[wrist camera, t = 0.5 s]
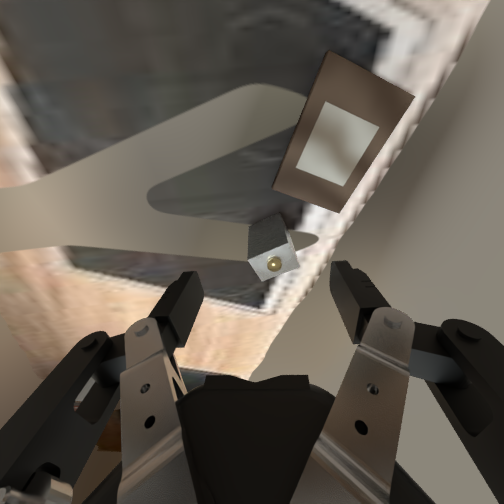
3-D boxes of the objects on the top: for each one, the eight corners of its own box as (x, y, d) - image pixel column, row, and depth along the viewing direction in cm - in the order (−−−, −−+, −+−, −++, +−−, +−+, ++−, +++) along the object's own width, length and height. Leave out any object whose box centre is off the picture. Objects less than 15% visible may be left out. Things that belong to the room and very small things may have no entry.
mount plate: (336, 210, 33) (339, 213, 32) (271, 186, 31) (272, 189, 30) (408, 97, 24) (415, 96, 23) (325, 53, 22) (329, 49, 21)
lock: (248, 226, 35) (247, 262, 26) (279, 212, 33) (289, 245, 24) (259, 245, 37) (262, 284, 28) (289, 232, 35) (301, 269, 27)
